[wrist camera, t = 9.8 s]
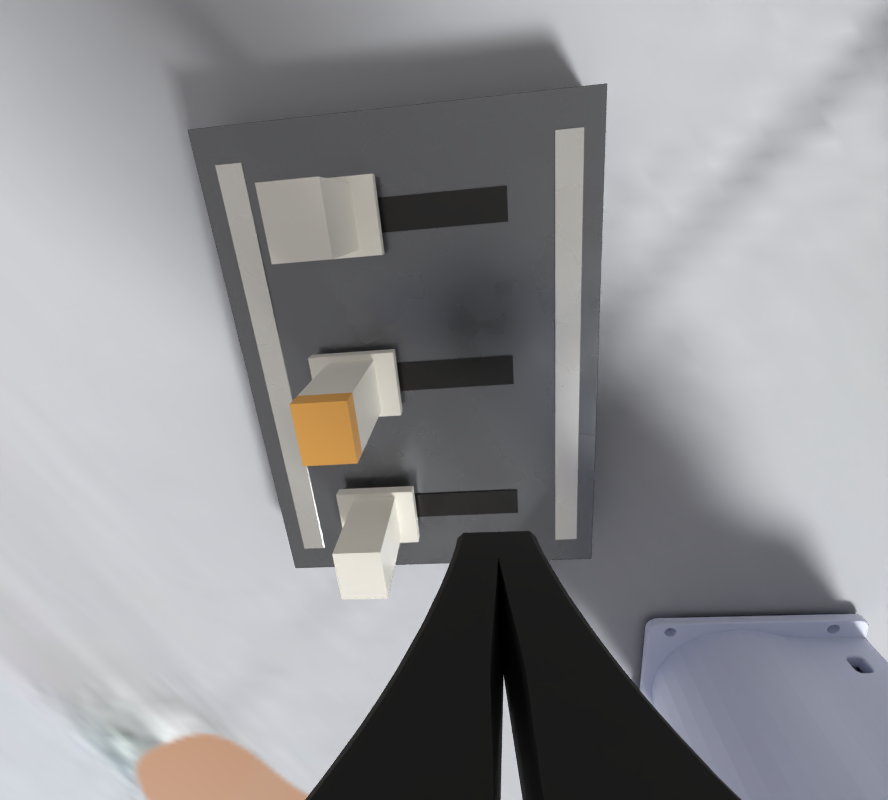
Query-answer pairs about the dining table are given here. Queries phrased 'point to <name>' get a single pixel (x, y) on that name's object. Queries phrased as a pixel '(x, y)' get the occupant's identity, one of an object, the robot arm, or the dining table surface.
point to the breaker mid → (344, 404)
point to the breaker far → (372, 538)
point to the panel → (433, 310)
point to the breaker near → (321, 218)
